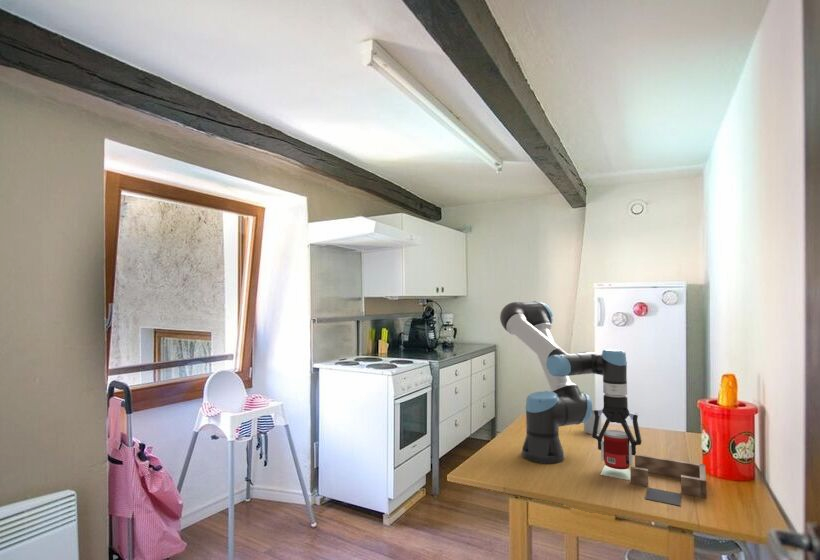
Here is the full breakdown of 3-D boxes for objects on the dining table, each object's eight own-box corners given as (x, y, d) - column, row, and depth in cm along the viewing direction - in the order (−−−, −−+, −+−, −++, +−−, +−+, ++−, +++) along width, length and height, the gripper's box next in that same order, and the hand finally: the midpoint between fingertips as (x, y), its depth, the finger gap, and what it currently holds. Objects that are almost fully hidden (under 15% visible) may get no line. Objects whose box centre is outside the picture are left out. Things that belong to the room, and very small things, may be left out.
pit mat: (645, 499, 135) (645, 498, 135) (647, 487, 143) (647, 487, 143) (680, 506, 130) (680, 505, 130) (681, 494, 138) (681, 493, 138)
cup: (581, 432, 200) (580, 412, 201) (591, 427, 207) (591, 407, 207) (597, 436, 195) (596, 415, 195) (607, 431, 202) (606, 410, 202)
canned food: (632, 470, 151) (631, 437, 151) (607, 469, 152) (606, 435, 153) (626, 462, 158) (625, 430, 159) (602, 460, 160) (601, 429, 160)
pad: (600, 474, 153) (600, 474, 153) (605, 465, 162) (605, 464, 162) (629, 480, 149) (629, 479, 149) (633, 470, 157) (633, 469, 157)
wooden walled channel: (630, 483, 146) (630, 467, 146) (635, 468, 159) (635, 453, 159) (706, 498, 136) (706, 481, 136) (705, 480, 148) (704, 464, 148)
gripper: (581, 393, 158) (582, 459, 158) (648, 400, 147) (650, 471, 147) (585, 389, 165) (587, 453, 164) (650, 396, 154) (652, 464, 153)
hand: (617, 461), depth 155 cm, fingers closed on canned food, 8 cm apart
